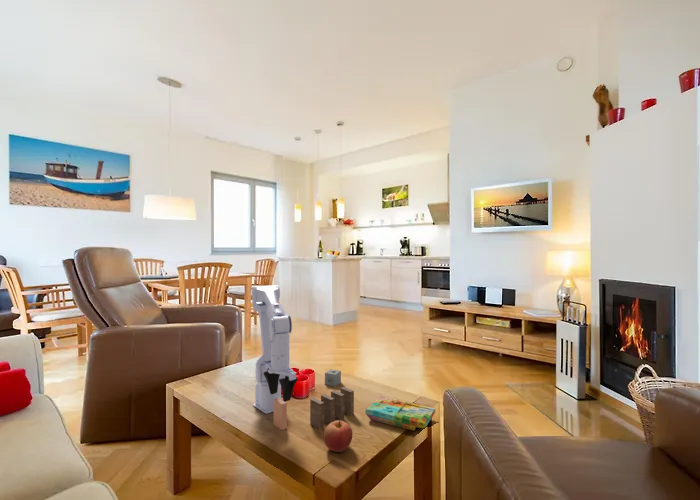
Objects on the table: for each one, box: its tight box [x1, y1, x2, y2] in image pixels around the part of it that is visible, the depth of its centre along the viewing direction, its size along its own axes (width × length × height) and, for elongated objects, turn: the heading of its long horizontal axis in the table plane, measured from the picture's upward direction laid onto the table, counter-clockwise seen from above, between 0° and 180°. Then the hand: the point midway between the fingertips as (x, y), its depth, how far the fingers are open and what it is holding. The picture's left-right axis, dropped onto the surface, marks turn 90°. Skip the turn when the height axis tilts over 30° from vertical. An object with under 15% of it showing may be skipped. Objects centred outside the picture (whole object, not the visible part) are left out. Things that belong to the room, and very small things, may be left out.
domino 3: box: [320, 393, 336, 425], centre depth 112 cm, size 2×5×8 cm, turn 44°
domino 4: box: [330, 389, 345, 421], centre depth 115 cm, size 2×5×8 cm, turn 44°
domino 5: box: [340, 386, 355, 417], centre depth 118 cm, size 2×5×8 cm, turn 44°
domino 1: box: [273, 398, 288, 431], centre depth 109 cm, size 2×5×8 cm, turn 44°
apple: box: [323, 419, 353, 453], centre depth 96 cm, size 8×8×8 cm
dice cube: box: [324, 368, 342, 387], centre depth 144 cm, size 5×5×5 cm
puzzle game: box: [365, 395, 437, 432], centre depth 113 cm, size 12×5×20 cm
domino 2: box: [309, 397, 325, 431], centre depth 109 cm, size 2×5×8 cm, turn 44°
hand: (280, 396), depth 109 cm, fingers open, 7 cm apart
